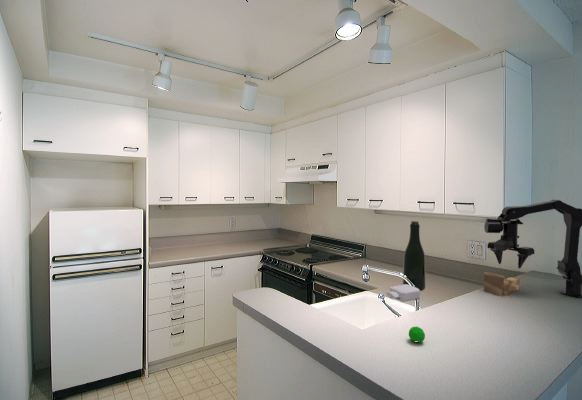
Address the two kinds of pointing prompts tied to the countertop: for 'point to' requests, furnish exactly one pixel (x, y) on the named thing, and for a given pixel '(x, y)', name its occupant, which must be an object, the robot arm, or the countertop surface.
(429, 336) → the countertop surface
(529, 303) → the countertop surface
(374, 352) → the countertop surface
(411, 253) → the dark wine bottle
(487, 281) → the notched wooden block
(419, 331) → the green ball
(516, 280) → the oak rail
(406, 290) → the charger
